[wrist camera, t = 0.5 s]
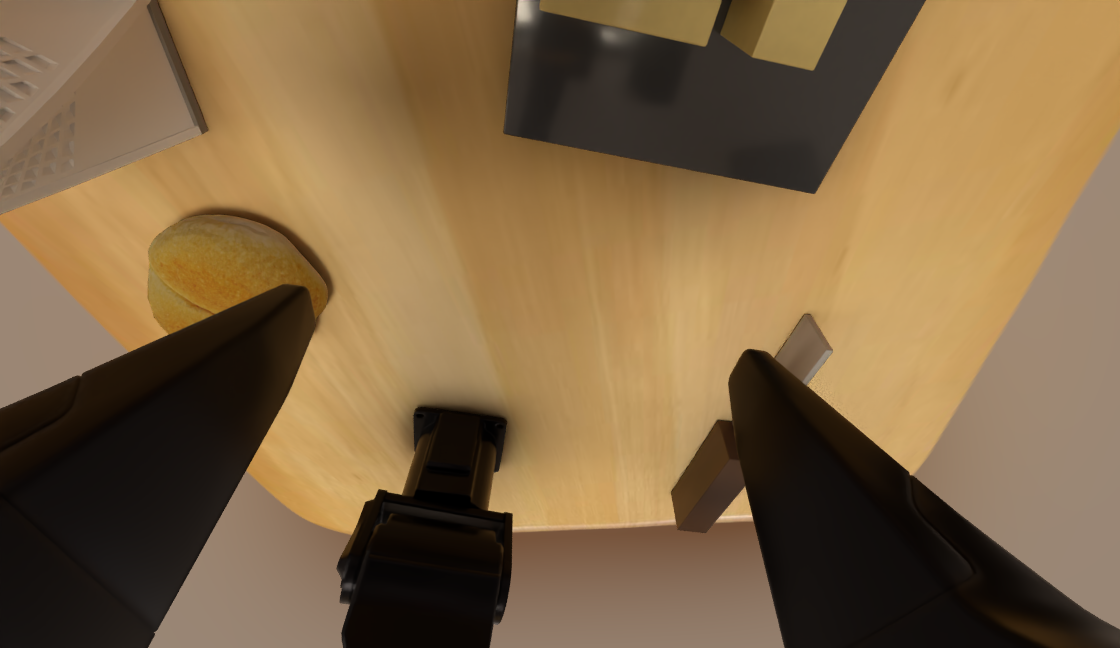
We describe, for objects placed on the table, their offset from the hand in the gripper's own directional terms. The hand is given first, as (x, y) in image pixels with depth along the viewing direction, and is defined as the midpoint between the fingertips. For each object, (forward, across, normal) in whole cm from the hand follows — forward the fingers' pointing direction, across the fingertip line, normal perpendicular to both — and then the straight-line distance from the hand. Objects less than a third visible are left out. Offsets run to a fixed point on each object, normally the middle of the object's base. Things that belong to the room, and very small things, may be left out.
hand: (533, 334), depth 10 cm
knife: (+14, -16, +17) cm, 27 cm away
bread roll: (+14, +15, +11) cm, 23 cm away
